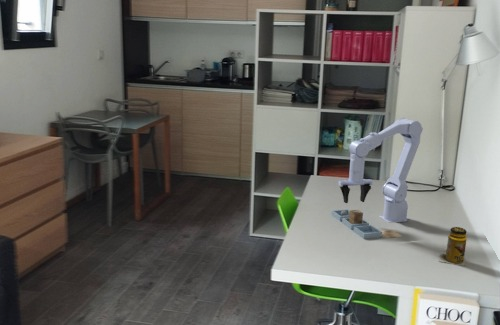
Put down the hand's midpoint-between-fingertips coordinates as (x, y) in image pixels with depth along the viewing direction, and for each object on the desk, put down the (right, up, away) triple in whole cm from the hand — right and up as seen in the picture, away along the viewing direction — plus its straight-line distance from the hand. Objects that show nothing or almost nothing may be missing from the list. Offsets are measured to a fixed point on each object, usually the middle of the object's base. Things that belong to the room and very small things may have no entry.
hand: (354, 201), depth 213 cm
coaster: (+13, -13, -8) cm, 20 cm away
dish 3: (+3, -13, -9) cm, 16 cm away
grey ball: (-3, -7, +9) cm, 12 cm away
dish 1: (-3, -8, +9) cm, 12 cm away
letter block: (0, -10, 0) cm, 10 cm away
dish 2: (0, -10, 0) cm, 10 cm away
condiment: (+29, -19, -29) cm, 45 cm away
